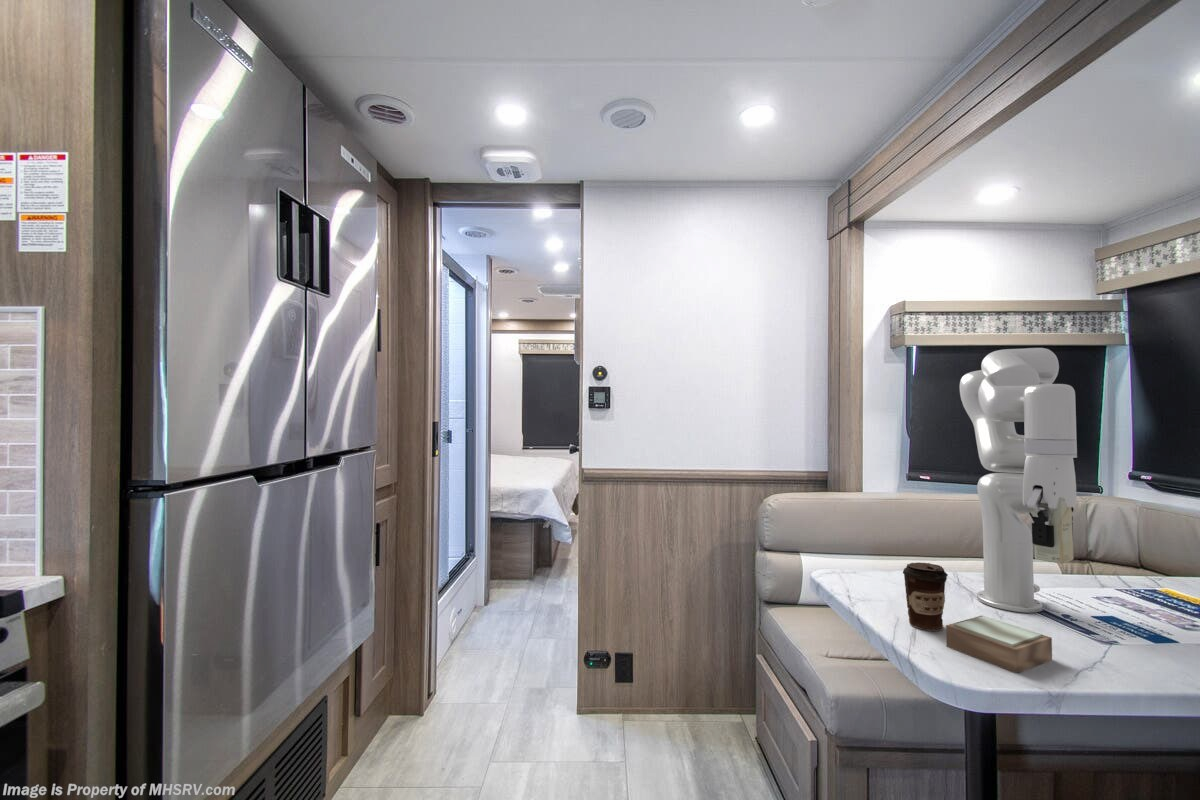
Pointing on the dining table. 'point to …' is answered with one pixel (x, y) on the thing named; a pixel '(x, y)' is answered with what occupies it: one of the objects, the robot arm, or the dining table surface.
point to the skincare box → (1058, 536)
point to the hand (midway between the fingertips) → (1052, 542)
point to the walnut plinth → (999, 643)
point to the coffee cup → (925, 595)
